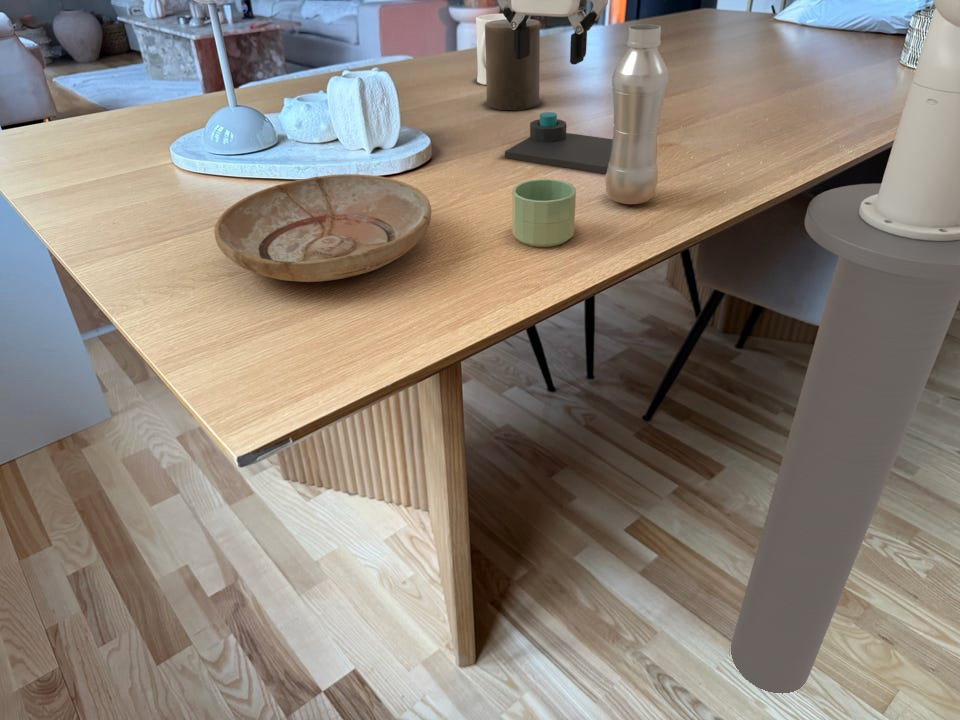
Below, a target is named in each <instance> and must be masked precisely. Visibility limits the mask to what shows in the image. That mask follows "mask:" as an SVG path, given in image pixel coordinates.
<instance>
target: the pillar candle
mask: <svg viewBox="0 0 960 720" xmlns="http://www.w3.org/2000/svg"><path fill="white" fill-rule="evenodd" d="M526 27H529V29H530V55H529V56H527V57H525V58H522V59H520V60H519V59H516V52H515V51H514V30H513V29H512V28H511V27H510V23H509V22H508V20H507V19H504V20H494V21H490V22H487V23H485V48H486V85H485V86H486V104H487V106H488V107H489V108H491V109H493V110H497V111H524V110H528V109H529V110H530V109H533V108H535V107H537V106H539V105H540V87H541V86H540V79H541V77H540V74H541V73H540V68H541V67H540V66H541V65H540V64H541V60H540V59H541V57H540V56H541V55H540V51H541V50H540V49H541V46H540V45H541V44H540V43H541V36H540V35H541V33H540V31H541V29H540V28H541V22H540V21H539V20H537V19H532V18H530V19H529V20H528V22H527V24H526Z"/></svg>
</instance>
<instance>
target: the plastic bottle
mask: <svg viewBox="0 0 960 720" xmlns="http://www.w3.org/2000/svg"><path fill="white" fill-rule="evenodd" d="M661 35H662V26H661V25H657V24H650V23H649V24H647V23H646V24H643V23H642V24H641V23H640V24H633V25H629V26H628V28H627V38H626V41H625V46H627V47H628V48H627V51H626V52H625V54H624V55H623V56H622V58H620V60H619V62H618V64H617V65H616V67H615V68H614V71H613V75H612V77H611V79H612V80H611V81H612V83H611V85H612V86H611V87H612V101H613V102H612V103H613V130H612V131H613V134H612V135H613V136H612V139H613V142H612V148H611V155H610V162H609V164H608V168H607V172H606V173H605V178H604V186H605V192H606V194H607V195H608V197H609V198H610V200H611V201H614V202H616V203H619V204H625V205H638V204H639V205H640V204H643V203H647V202H648V201H650V200H651V199H652V198H653V196H654V195H655V193H656V190H657V187H658V182H659V178H658V177H659V172H658V171H659V169H658V163H657V157H658V155H657V154H658V153H657V152H658V133H659V125H660V119H661V113H662V109H663V105H664V100H665V96H666V93H667V87H668V85H669V84H668V83H669V72H668V68H667V66H666V63H665V60H664V59H663V57H662V56H661V54H660V52H659V49H658V47H660V46H661V43H662V42H661V41H662V39H661Z"/></svg>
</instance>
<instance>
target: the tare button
mask: <svg viewBox="0 0 960 720" xmlns="http://www.w3.org/2000/svg"><path fill="white" fill-rule="evenodd" d="M539 119H540V126H545V127H550V126H556V125H557V119H558V113H556V112H551V111H546V112H541V113H540V114H539Z"/></svg>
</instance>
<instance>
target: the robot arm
mask: <svg viewBox="0 0 960 720" xmlns="http://www.w3.org/2000/svg"><path fill="white" fill-rule="evenodd" d="M496 1H497V3H498V5H499V7H500V9H501V10H502V14H503V15H504V16H505V18H506V19H507V20H508V22H509V23H510V27H511V28H512V29H513V30H514V51H515V52H516V59H519V60H520V59H522V58H525V57H527V56H529V55H530V29H529V27H526V24H527V22H528V20H529V19H531V17H532V16H535V17H536V16H537V17H558V18H565V17H567V19H568V20H569V23H570V25H571V26H572V28H573V30H574V32H573V33H571V35H570V46H569V47H570V48H569V49H570V50H569V63H570V65H573V66H574V65H578V64H580V63H581V62H583V61H584V58H585V57H586V55H587V43H588V42H587V41H588V31H590V30H591V28H592V27H593V26H594V25H595V24H596V23H597V21H598V20H600V17H601V15H602V14H603V12H604V10H605V9H606V7H607V5H608V4H609V0H496ZM588 1H589V2H591V3H592V8H591V9H590V11H589V13H588V14H586V13H585V11H584V10H586V9H587V6H588ZM932 2H933V5H934V7H935V8H934V12H933V14H932V17H931V20H930V23H929V26H928V29H927V32H926V35H925V38H924V41H923V43H922V44H923V45H922V48H921V51H920V54H919V57H918V61H917V63H916V67H915V71H914V73H913V77H912V79H911V82H910V86H909V90H908V92H907V96H906V98H905V99H906V100H905V103H904V106H903V109H902V113H901V116H900V120H899V123H898V126H897V130H896V133H895V137H894V140H893V143H892V147H891V150H890V154H889V157H888V160H887V163H886V167H885V170H884V173H883V177H882V181H881V183H880V184H881V187H880V190H879V194H876V195H873V196H870V197H868V198H866V199H864V200H863V201H862V202H861V206H860V209H859V215H860V216H861V218H862V219H863V220H864V221H865V222H866V223H868V224H869V225H871V226H872V227H875V228H877V229H879V230H881V231H884V232H887V233H890V234H893V235H897V236H901V237H905V238H910V239H917V240H925V241H956V240H960V0H932Z"/></svg>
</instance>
